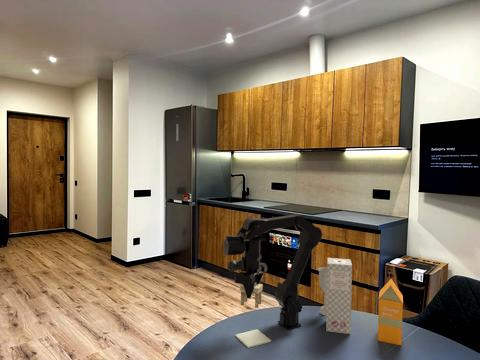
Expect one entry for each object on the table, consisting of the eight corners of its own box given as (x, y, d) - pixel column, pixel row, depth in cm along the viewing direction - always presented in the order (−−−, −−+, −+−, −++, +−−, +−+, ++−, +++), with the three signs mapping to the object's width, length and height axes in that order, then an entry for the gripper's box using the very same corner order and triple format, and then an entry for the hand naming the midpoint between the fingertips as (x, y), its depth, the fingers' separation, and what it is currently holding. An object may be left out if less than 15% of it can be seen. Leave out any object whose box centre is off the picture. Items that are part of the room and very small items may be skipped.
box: (326, 331, 124) (327, 263, 123) (326, 321, 132) (327, 257, 131) (350, 334, 122) (352, 265, 121) (348, 323, 130) (350, 259, 129)
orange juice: (401, 334, 122) (403, 279, 122) (401, 345, 114) (403, 287, 114) (378, 329, 125) (379, 276, 125) (377, 340, 117) (378, 283, 117)
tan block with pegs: (262, 303, 123) (262, 284, 123) (258, 308, 119) (258, 288, 118) (244, 300, 126) (244, 281, 126) (239, 305, 121) (239, 285, 121)
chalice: (334, 317, 135) (335, 272, 135) (317, 315, 137) (318, 271, 136) (333, 309, 143) (334, 267, 142) (316, 308, 144) (317, 266, 143)
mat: (257, 330, 123) (257, 329, 123) (270, 341, 115) (270, 340, 115) (235, 336, 119) (235, 334, 119) (248, 348, 111) (248, 346, 111)
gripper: (240, 245, 133) (240, 284, 134) (220, 256, 116) (220, 301, 116) (267, 248, 129) (267, 289, 130) (251, 260, 112) (250, 307, 112)
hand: (251, 296), depth 122 cm, fingers closed on tan block with pegs, 5 cm apart
